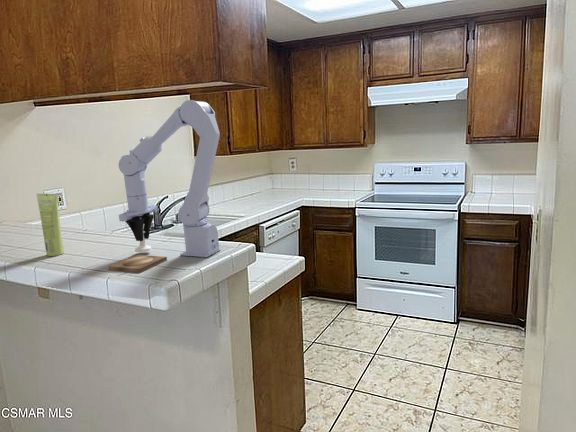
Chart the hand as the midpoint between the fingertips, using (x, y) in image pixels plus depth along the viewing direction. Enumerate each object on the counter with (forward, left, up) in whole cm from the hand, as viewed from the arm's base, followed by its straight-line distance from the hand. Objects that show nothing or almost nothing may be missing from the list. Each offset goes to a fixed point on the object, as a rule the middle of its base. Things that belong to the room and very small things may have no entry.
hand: (142, 239), depth 133 cm
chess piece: (0, 0, -4) cm, 4 cm away
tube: (+29, +7, -5) cm, 30 cm away
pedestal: (-6, +10, -4) cm, 13 cm away
